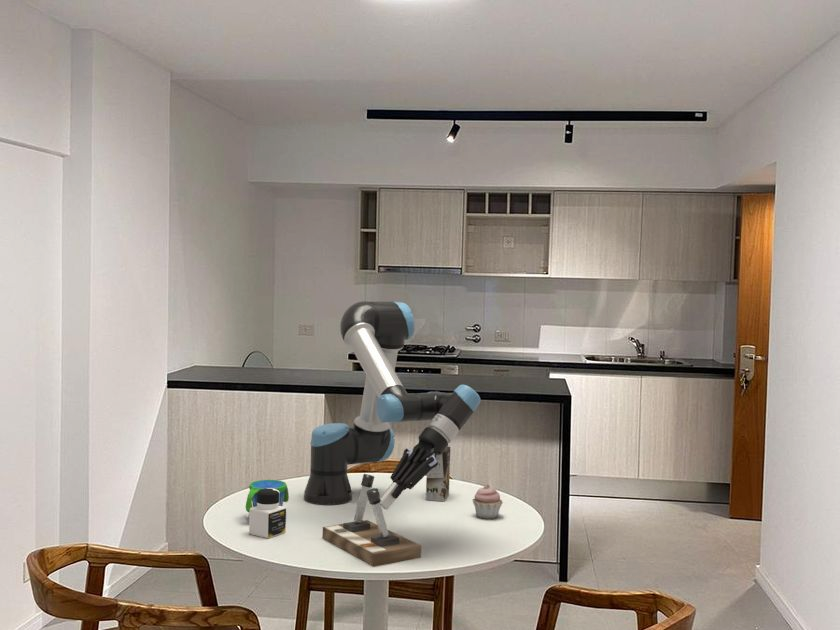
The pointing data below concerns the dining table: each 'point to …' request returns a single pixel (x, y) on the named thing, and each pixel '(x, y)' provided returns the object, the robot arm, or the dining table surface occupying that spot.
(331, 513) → the dining table surface
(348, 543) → the switch unit
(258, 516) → the medicine bottle
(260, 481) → the snack cup
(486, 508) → the cupcake
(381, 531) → the lever
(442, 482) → the coffee box
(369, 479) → the lever
